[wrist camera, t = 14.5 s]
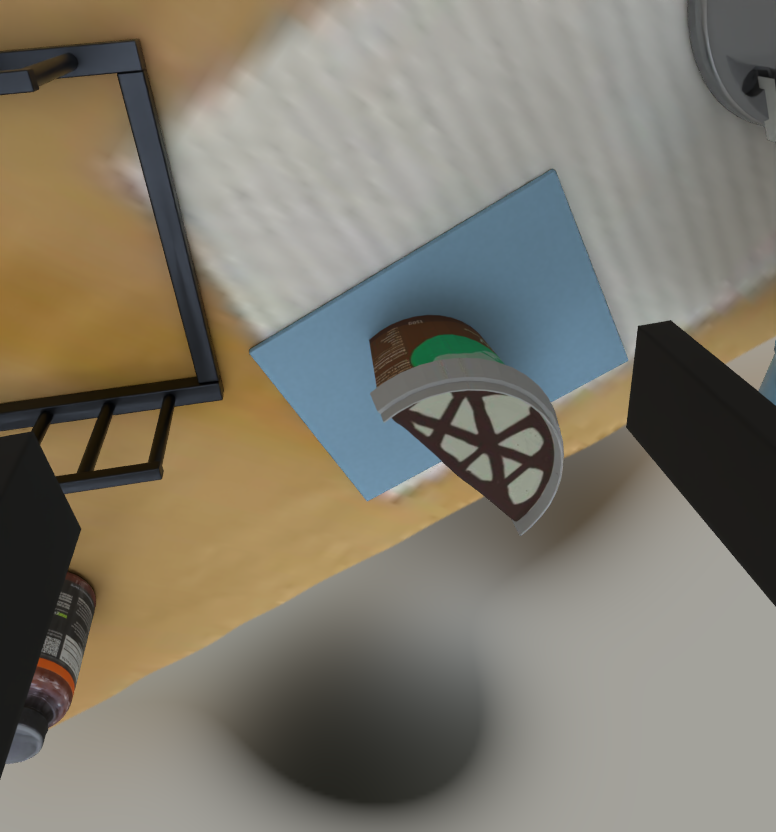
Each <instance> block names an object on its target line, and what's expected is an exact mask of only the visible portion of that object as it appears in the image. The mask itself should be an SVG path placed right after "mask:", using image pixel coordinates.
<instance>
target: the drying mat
mask: <svg viewBox="0 0 776 832" xmlns="http://www.w3.org/2000/svg"><path fill="white" fill-rule="evenodd" d="M423 315H441V316H446V317H451V318H454V319H457V320H460V321H462V322H464V323H466V324H467V325H469V326H471V327H472V328H473V329H474V330H476V331H477V332H478V333H479V334H480V335H481V336H482V338H483V339H484V340H485V341H486V342H487V344H488V345H489V346H490V347H491V348H492V350H493V351H494V352H495V353H496V354H497V356H498V357H499V358H500V359H501V360H502V362H503V363H504V364H505V365H507V366H510V367H513V368H514V369H516V370H518V371H520V372H521V373H523V374H525V375H527V376H528V377H529V378H530V379H532V380H533V381H534V382H535V383H536V384H537V385H539V386H540V388H541V389H542V390H543V392H544V393H545V394H546V395H547V397H548V398H549V400H550V402H552V401H554V400H556V399H558V398H560V397H562V396H564V395H565V394H567V393H569V392H571V391H573V390H575V389H577V388H578V387H580V386H582V385H584V384H586V383H588V382H590V381H591V380H593V379H595V378H597V377H599V376H601V375H603V374H604V373H606V372H608V371H610V370H612V369H614V368H615V367H617V366H619V365H621V364H623V363H625V362H627V361H628V358H627V355H626V352H625V350H624V347H623V345H622V342H621V339H620V337H619V334H618V332H617V329H616V326H615V324H614V321H613V319H612V316H611V313H610V311H609V308H608V306H607V303H606V300H605V298H604V295H603V293H602V290H601V288H600V285H599V282H598V280H597V277H596V275H595V272H594V269H593V267H592V264H591V262H590V259H589V256H588V254H587V251H586V249H585V246H584V243H583V241H582V238H581V236H580V233H579V230H578V228H577V225H576V223H575V220H574V217H573V215H572V212H571V210H570V207H569V204H568V202H567V199H566V197H565V194H564V192H563V189H562V186H561V184H560V181H559V179H558V176H557V173H556V171H555V170H553V169H551V170H550V171H548V172H546V173H545V174H543V175H541V176H540V177H538V178H536V179H534V180H533V181H531V182H529V183H528V184H526V185H524V186H523V187H521V188H519V189H518V190H516V191H514V192H513V193H511V194H509V195H508V196H506V197H504V198H503V199H501V200H499V201H498V202H496V203H494V204H493V205H491V206H489V207H488V208H486V209H484V210H483V211H481V212H479V213H478V214H476V215H474V216H472V217H471V218H469V219H467V220H466V221H464V222H462V223H461V224H459V225H457V226H456V227H454V228H452V229H451V230H449V231H447V232H446V233H444V234H442V235H441V236H439V237H437V238H436V239H434V240H432V241H431V242H429V243H427V244H426V245H424V246H422V247H421V248H419V249H417V250H416V251H414V252H412V253H411V254H409V255H407V256H405V257H404V258H402V259H400V260H399V261H397V262H395V263H394V264H392V265H390V266H389V267H387V268H385V269H384V270H382V271H380V272H379V273H377V274H375V275H374V276H372V277H370V278H369V279H367V280H365V281H364V282H362V283H360V284H359V285H357V286H355V287H354V288H352V289H350V290H349V291H347V292H345V293H344V294H342V295H340V296H338V297H337V298H335V299H333V300H332V301H330V302H328V303H327V304H325V305H323V306H322V307H320V308H318V309H317V310H315V311H313V312H312V313H310V314H308V315H307V316H305V317H303V318H302V319H300V320H298V321H297V322H295V323H293V324H292V325H290V326H288V327H287V328H285V329H283V330H282V331H280V332H278V333H276V334H275V335H273V336H271V337H270V338H268V339H266V340H265V341H263V342H261V343H260V344H258V345H256V346H255V347H253V348H251V349H250V350H249V354H250V355H251V356H252V357H253V359H254V360H255V361H256V362H257V364H258V365H259V366H260V367H261V369H262V370H263V371H264V372H265V374H266V375H267V376H268V377H269V379H270V380H271V381H272V382H273V384H274V385H275V386H276V387H277V389H278V390H279V391H280V393H281V394H282V395H283V396H284V398H285V399H286V400H287V401H288V403H289V404H290V405H291V406H292V408H293V409H294V410H295V411H296V413H297V414H298V415H299V416H300V418H301V419H302V420H303V421H304V423H305V424H306V425H307V426H308V428H309V429H310V430H311V431H312V433H313V434H314V435H315V436H316V438H317V439H318V440H319V441H320V443H321V444H322V445H323V447H324V448H325V449H326V450H327V452H328V453H329V454H330V455H331V457H332V458H333V459H334V460H335V462H336V463H337V464H338V465H339V467H340V468H341V469H342V470H343V472H344V473H345V474H346V475H347V477H348V478H349V479H350V480H351V482H352V483H353V484H354V485H355V487H356V488H357V489H358V490H359V492H360V493H361V494H362V495H363V497H364V498H365V499H366V501H369V500H371V499H373V498H374V497H376V496H378V495H380V494H382V493H384V492H385V491H387V490H389V489H391V488H393V487H395V486H397V485H398V484H400V483H402V482H404V481H406V480H408V479H410V478H411V477H413V476H415V475H417V474H419V473H421V472H423V471H424V470H426V469H428V468H430V467H432V466H434V465H436V464H437V463H439V462H441V460H440V459H439V458H438V457H437V456H436V455H435V454H433V453H432V452H431V451H430V450H429V449H428V448H427V447H426V446H424V445H423V444H422V443H421V442H420V441H419V440H418V439H416V438H415V437H414V436H413V435H412V434H411V433H410V432H408V431H407V430H406V429H405V428H403V427H402V426H401V425H399V424H397V423H396V422H395V421H394V420H393V419H392V418H390V419H389V420H388V421H386V422H385V423H384V422H383V420H382V417H381V414H380V413H379V412H378V411H377V409H376V407H375V404H374V402H373V400H372V397H371V395H370V393H371V392H372V391H373V390H375V389H376V388H377V387H376V381H375V374H374V368H373V362H372V356H371V350H370V343H369V339H371V338H372V337H373V336H374V335H376V334H377V333H378V332H379V331H381V330H383V329H384V328H386V327H388V326H389V325H391V324H394V323H396V322H398V321H401V320H403V319H407V318H411V317H415V316H423Z"/></svg>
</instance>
